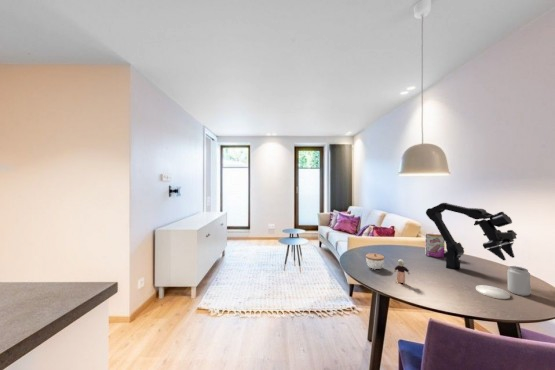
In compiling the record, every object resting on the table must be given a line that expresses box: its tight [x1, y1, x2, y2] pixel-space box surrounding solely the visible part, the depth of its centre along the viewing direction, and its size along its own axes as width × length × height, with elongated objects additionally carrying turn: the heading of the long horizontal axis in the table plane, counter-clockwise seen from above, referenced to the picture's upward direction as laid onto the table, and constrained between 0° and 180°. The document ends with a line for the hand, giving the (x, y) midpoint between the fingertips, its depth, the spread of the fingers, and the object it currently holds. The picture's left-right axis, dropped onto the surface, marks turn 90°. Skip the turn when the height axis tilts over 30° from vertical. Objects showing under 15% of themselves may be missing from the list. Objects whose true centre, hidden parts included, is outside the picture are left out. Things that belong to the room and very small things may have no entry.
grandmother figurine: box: [393, 259, 411, 285], centre depth 122 cm, size 8×4×13 cm, turn 66°
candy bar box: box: [424, 232, 445, 259], centre depth 164 cm, size 11×5×16 cm, turn 65°
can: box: [506, 265, 531, 297], centre depth 109 cm, size 8×8×12 cm
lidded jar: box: [365, 252, 385, 270], centre depth 143 cm, size 11×11×9 cm
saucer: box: [475, 284, 511, 300], centre depth 109 cm, size 12×12×1 cm
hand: (509, 258), depth 118 cm, fingers open, 9 cm apart
